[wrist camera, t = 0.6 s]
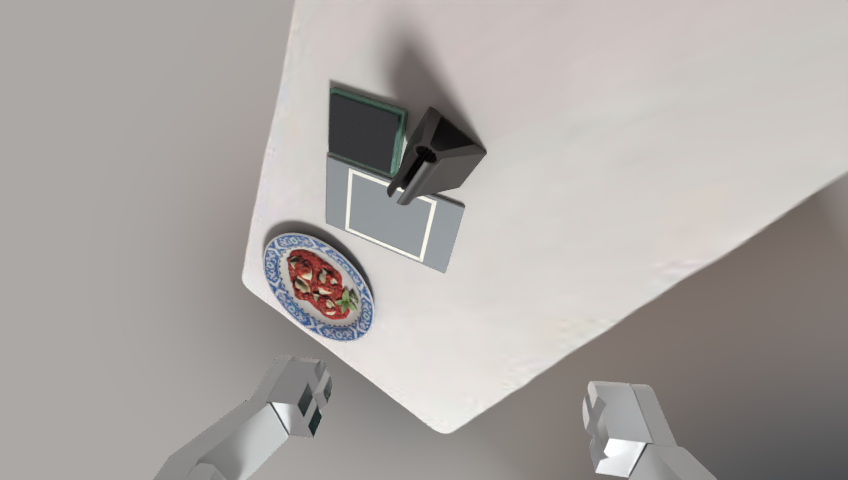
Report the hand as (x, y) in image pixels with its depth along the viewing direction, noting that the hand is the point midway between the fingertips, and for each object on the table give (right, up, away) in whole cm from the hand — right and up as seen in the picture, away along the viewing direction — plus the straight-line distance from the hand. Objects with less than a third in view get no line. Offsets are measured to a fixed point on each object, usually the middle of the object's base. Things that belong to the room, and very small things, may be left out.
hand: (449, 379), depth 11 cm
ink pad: (-9, +19, +37) cm, 43 cm away
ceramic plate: (-21, -5, +59) cm, 62 cm away
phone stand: (+2, +16, +34) cm, 38 cm away
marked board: (-6, +8, +43) cm, 44 cm away
